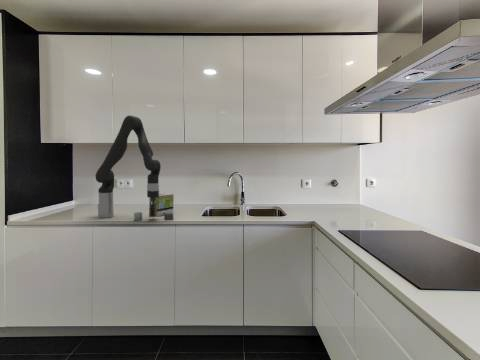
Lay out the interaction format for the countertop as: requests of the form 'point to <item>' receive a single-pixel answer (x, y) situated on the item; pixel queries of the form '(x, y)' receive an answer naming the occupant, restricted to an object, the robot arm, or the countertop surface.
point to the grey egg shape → (138, 216)
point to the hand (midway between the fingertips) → (153, 215)
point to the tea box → (164, 204)
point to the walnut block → (154, 212)
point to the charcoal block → (168, 216)
